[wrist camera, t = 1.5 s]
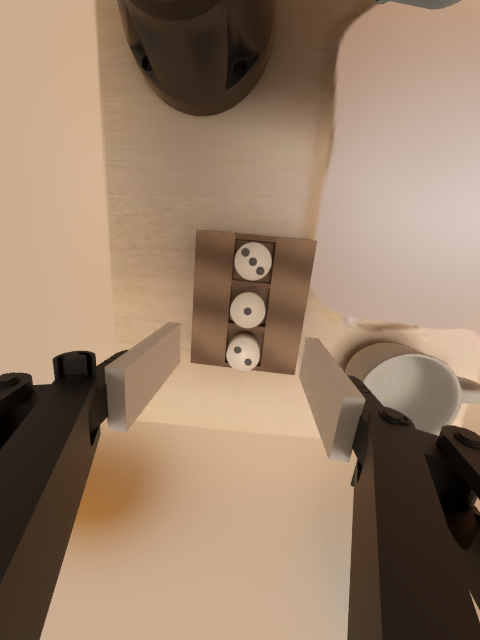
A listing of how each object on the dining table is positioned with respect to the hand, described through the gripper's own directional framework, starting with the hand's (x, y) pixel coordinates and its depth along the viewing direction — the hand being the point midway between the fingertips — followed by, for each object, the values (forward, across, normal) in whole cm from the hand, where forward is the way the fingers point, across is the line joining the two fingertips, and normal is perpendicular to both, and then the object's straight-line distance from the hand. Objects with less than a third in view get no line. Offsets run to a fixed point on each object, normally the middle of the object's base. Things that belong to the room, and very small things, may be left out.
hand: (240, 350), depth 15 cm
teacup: (+17, +20, -8) cm, 28 cm away
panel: (+17, 0, 0) cm, 17 cm away
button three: (+15, 0, +6) cm, 16 cm away
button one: (+15, 0, 0) cm, 15 cm away
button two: (+15, 0, -5) cm, 16 cm away
